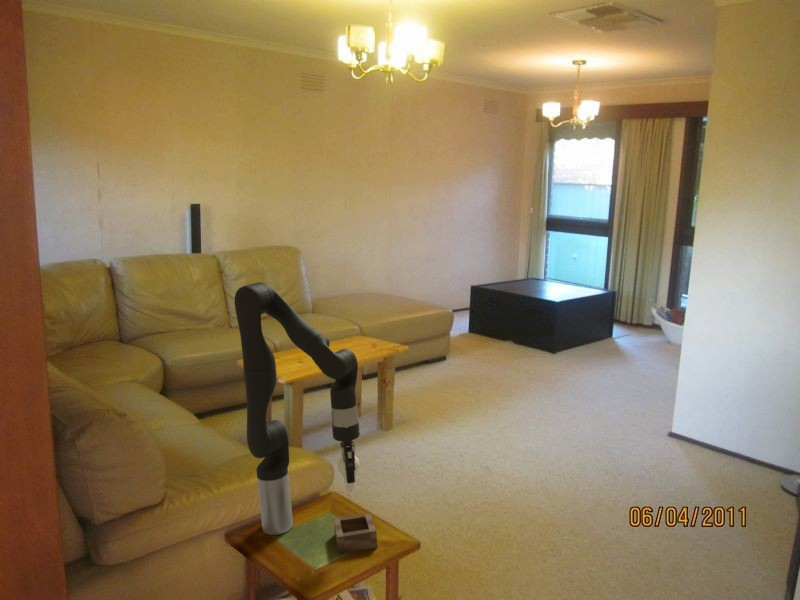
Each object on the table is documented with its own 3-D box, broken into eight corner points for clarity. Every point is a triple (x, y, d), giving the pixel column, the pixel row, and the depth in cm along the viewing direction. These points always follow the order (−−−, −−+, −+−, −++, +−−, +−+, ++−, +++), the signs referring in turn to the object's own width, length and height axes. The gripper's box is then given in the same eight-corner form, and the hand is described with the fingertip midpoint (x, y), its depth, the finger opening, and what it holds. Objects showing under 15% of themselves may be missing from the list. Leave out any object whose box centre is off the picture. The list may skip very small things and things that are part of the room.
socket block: (334, 534, 191) (333, 518, 191) (371, 528, 193) (370, 513, 193) (338, 554, 181) (337, 537, 180) (377, 547, 183) (376, 531, 182)
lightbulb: (350, 484, 189) (347, 448, 187) (366, 489, 185) (363, 453, 183) (335, 492, 184) (332, 455, 182) (351, 498, 180) (348, 460, 178)
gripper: (329, 414, 187) (334, 469, 190) (333, 431, 173) (338, 490, 176) (355, 411, 189) (359, 466, 191) (361, 428, 175) (366, 486, 177)
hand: (349, 477), depth 184 cm, fingers closed on lightbulb, 6 cm apart
